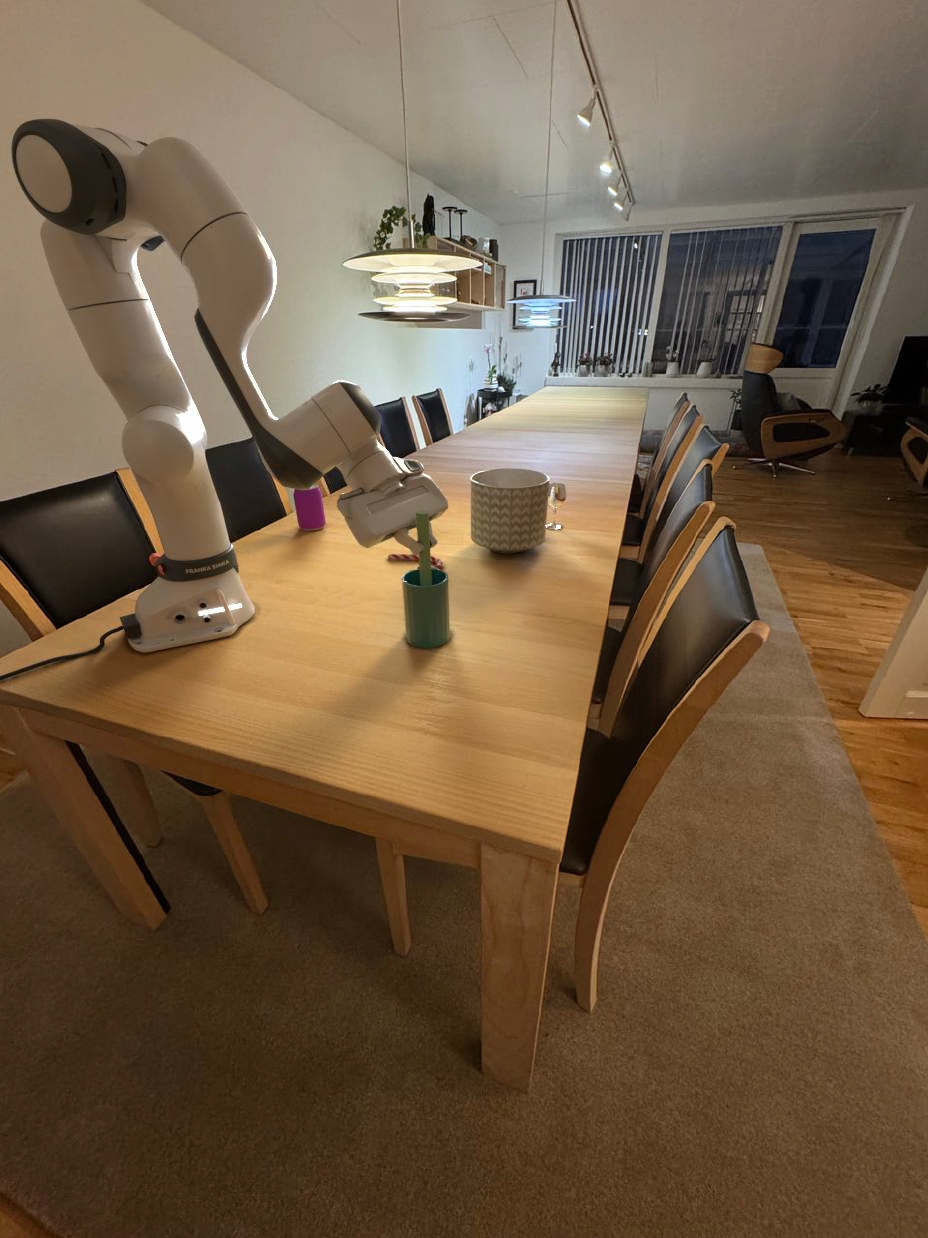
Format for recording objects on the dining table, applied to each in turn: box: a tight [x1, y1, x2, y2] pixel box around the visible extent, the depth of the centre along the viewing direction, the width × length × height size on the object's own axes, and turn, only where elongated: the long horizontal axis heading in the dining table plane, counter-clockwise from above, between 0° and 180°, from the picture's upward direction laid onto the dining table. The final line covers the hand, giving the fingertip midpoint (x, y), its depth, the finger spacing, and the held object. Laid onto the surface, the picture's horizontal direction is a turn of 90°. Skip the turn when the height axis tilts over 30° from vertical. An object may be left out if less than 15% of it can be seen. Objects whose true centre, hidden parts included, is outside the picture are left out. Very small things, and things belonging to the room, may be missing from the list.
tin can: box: [401, 568, 451, 649], centre depth 92 cm, size 8×8×12 cm
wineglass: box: [546, 482, 567, 531], centre depth 144 cm, size 6×6×12 cm
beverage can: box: [292, 483, 327, 532], centre depth 146 cm, size 8×8×12 cm
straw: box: [416, 510, 432, 586], centre depth 86 cm, size 2×2×14 cm
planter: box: [470, 467, 550, 555], centre depth 129 cm, size 19×19×18 cm
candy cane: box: [387, 553, 444, 570], centre depth 124 cm, size 8×1×15 cm
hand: (426, 549), depth 86 cm, fingers closed on straw, 2 cm apart
